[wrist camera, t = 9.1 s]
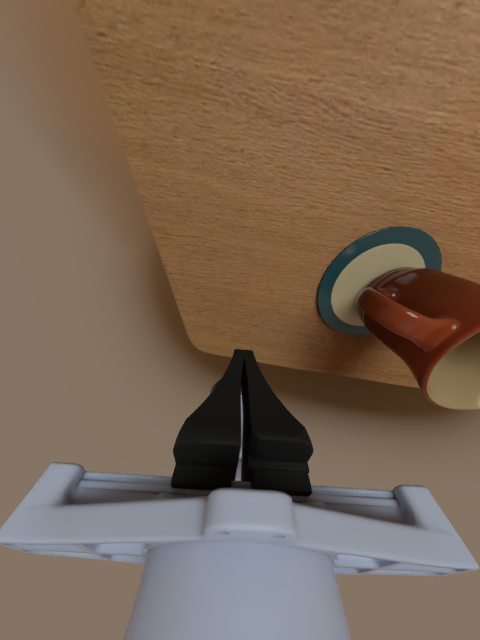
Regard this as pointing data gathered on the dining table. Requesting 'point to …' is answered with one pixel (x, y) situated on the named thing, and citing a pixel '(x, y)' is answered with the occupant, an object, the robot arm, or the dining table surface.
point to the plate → (370, 271)
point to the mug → (429, 330)
